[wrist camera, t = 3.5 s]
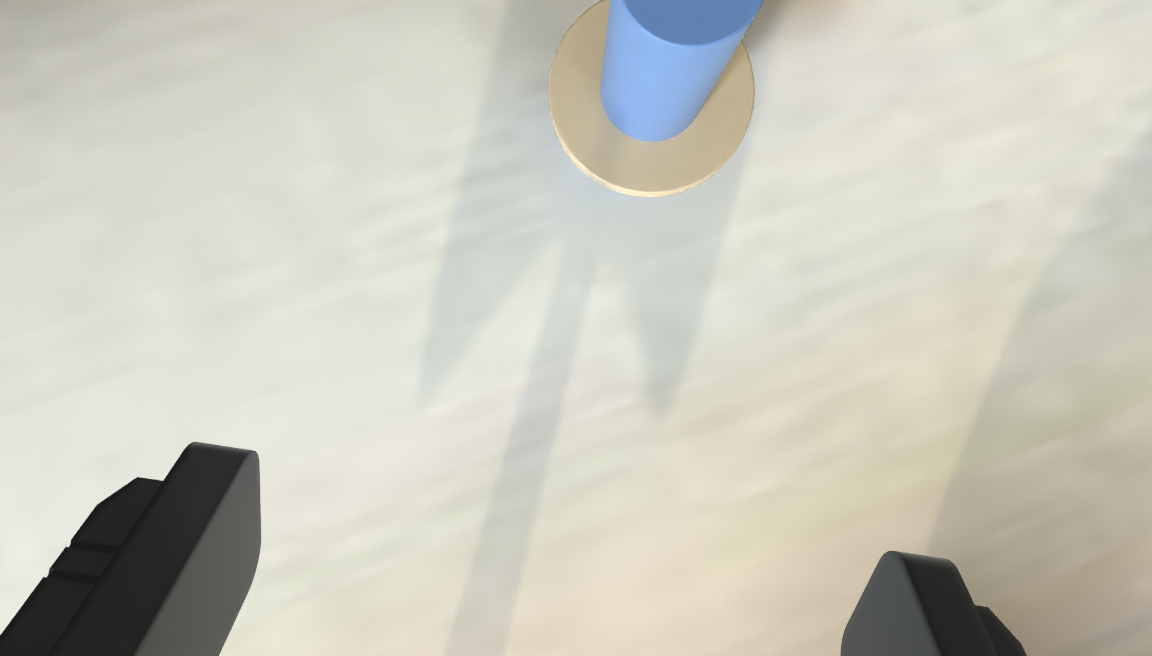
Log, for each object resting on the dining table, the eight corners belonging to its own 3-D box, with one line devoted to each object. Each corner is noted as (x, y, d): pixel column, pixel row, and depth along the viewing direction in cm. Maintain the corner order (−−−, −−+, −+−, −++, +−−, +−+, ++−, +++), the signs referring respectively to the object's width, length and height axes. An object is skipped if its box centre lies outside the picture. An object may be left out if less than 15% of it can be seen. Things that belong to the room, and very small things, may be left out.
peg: (523, 168, 31) (487, 51, 18) (594, 4, 31) (611, -236, 18) (687, 239, 31) (773, 174, 18) (758, 75, 31) (896, -111, 18)
